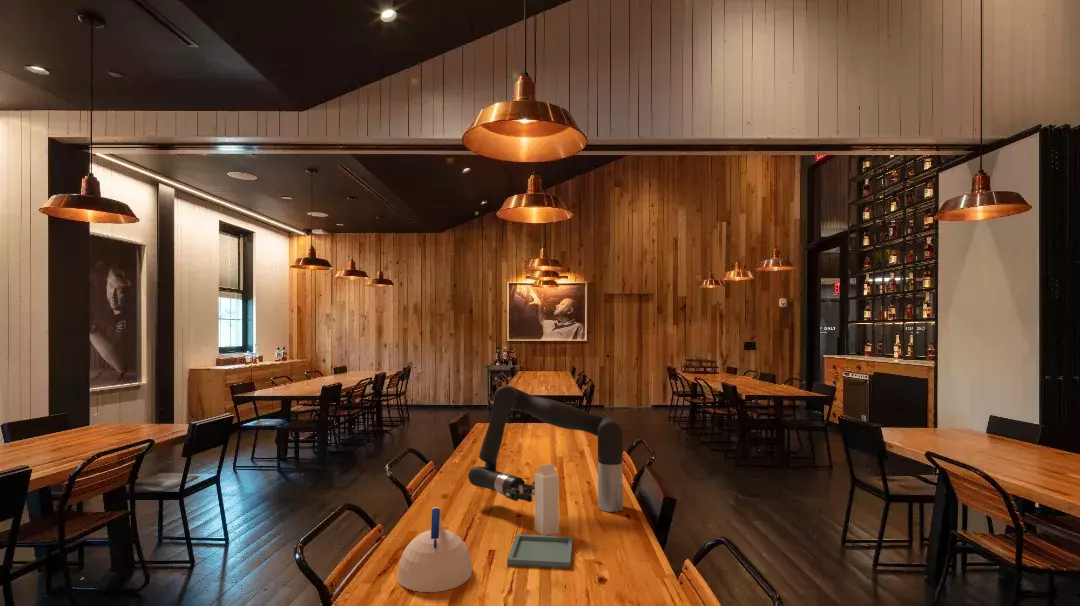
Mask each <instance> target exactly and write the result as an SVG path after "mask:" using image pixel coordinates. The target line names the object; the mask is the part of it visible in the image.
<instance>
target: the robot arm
mask: <svg viewBox="0 0 1080 606" xmlns="http://www.w3.org/2000/svg"><path fill="white" fill-rule="evenodd" d="M492 402H493V403H492V410H491V415H490V419H489V422H488V423H489V424H488V425H487V426H488V427H487V429H486V431H485V432H486V433H485V436H484V438H483V441H482V445H481V448H480V451H479V455H478V457H479V459H480V460H481V461H483V462H484V466H479V465H478V466H473V467H472V468H471V469H470V470H468V471H469V472H468V474H467V476H468V477H467V478H468V481H469V483H470V484H471V485H472V486H475V487H478V488H482V489H483V488H484V489H489V490H491V491H493V492H496V493H498V494H500V495H502V496H504V497H506V499H509V500H512V501H514V502H518V501H526V502H528V503H531V502H533V496H535V481H532V483H529V482H528V483H526V482H525V480H524V479H523V478H522V477H520V476H517V475H513V474H510V473H504V472H502V471H497V460H498V456H499V452H500V451H501V446H502V443H503V439H504V432H505V426H506V423H507V421H508V417H509V415H510V413H511V412H512V411H513V410H514V411H518V412H523V413H525V414H528V415H531V416H532V417H534V418H536V419H538V420H540V421H541V422H544V423H546V424H549V425H551V426H555V427H557V428H561V429H566V430H573V431H582V432H586V433H587V434H588V433H589V434H591V435H593V436H596V437H597V507H598V509H599V510H601V511H603V512H609V513H610V512H611V513H615V512H623V511H624V485H623V484H624V483H623V452H624V451H623V448H624V447H623V441H624V440H623V439H624V438H623V437H624V436H623V429H622V425H621V423H620V422H619V421H618V420H616V419H614V418H613V417H607V416H602V415H598V414H593V413H589V412H587V411H585V410H582V409H580V408H577V407H575V406H572V405H569V404H566V403H563V402H560V401H557V400H554V399H550V398H547V397H543V396H542V397H541V396H536V395H534V394H533V395H532V394H531V393H527V392H525V391H522V390H521V389H518V388H516V387H513V386H512V385H503V386H500V387H499V388H497V389H496V390H495V392H494V396H493V401H492ZM533 490H534V491H533Z"/></svg>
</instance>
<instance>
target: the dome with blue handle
mask: <svg viewBox="0 0 1080 606" xmlns="http://www.w3.org/2000/svg"><path fill="white" fill-rule="evenodd" d="M430 522H431V523H430V529H429V530H426V531H423V532H422V533H421V532H420V534H418V535H417V536H416V537H414V538H413V539H412V540H411V541H410V542H409V543H408V544H407V546H406V547H405V549H404V550H403V551H402V555H401V558H400V559H399V564H398V573H397V582H398V583H399V584H400V586H401V585H402V587H403V588H404V587H405V589H406V588H407V589H406V590H408V589H410V590H409V591H411V590H413V591H412V592H415V591H418V592H417V593H422V592H434V593H439V591H441V592H446V591H449V590H448V589H450V590H453V589H455V588H458V587H460V586H462V585H463V584H465V583H466V582H467V581H468V580H469V579H470V577H472V574H473V568H472V557H471V556H472V555H471V553H470V551H469V549H468V546H467V544H466V543H465V542H464V540H463V539H462V538H461V536H458V534H456V533H455V532H453V531H450V530H447V529H443V519H442V518H441V508H440V507H438V506H436V507H433V508H432V509H431V520H430ZM452 588H453V589H452ZM445 590H446V591H445Z"/></svg>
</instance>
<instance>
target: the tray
mask: <svg viewBox="0 0 1080 606" xmlns="http://www.w3.org/2000/svg"><path fill="white" fill-rule="evenodd" d="M573 539H574V538H573V536H566V535H565V536H562V535H547V536H542V535H541V534H539V535H535V534H516V536H515V538H514V541H513V543H512V546H511V549H510V551H509V554H508V557H507V559H506V560H507V561H506V564H507V567H522V568H523V567H526V568H546V569H566V570H567V569H568V570H570V569H571V565H572V564H571V562H572V552H573V545H574V544H573Z"/></svg>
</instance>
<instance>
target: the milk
mask: <svg viewBox="0 0 1080 606" xmlns="http://www.w3.org/2000/svg"><path fill="white" fill-rule="evenodd" d="M559 477H560V476H559V474H558V472H557V470H556V469H555V463H552V464H545V465H539V466H538V470H537V472H535V473H534V482H535V495H534V531H535V532H537V533H538V534H539V535H542V536H552V535H555V534H558V533H560V529H559V528H560V524H559V522H560V520H559V519H560V515H559V514H560V511H559V510H560V504H559V503H560V502H559V501H560V500H559V498H560V497H559V496H560V494H559V493H560V489H559V488H560V483H559V482H560V481H559V480H560V479H559Z"/></svg>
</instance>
